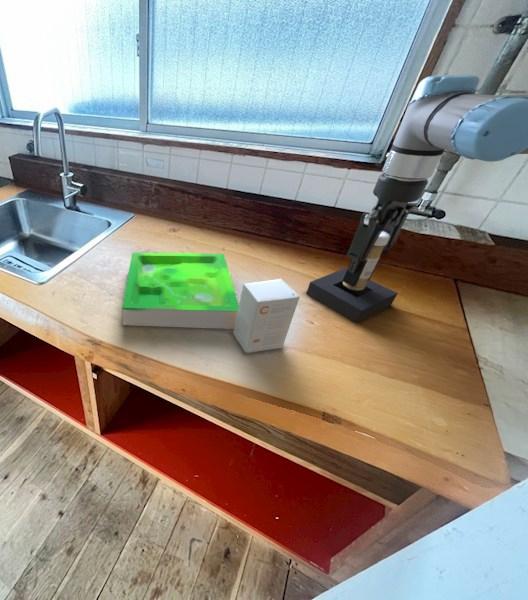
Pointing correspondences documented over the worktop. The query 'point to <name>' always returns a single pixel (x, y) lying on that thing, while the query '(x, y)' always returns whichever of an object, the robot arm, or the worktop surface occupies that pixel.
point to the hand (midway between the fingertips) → (356, 280)
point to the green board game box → (179, 291)
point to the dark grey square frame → (350, 296)
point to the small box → (264, 315)
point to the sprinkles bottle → (370, 262)
